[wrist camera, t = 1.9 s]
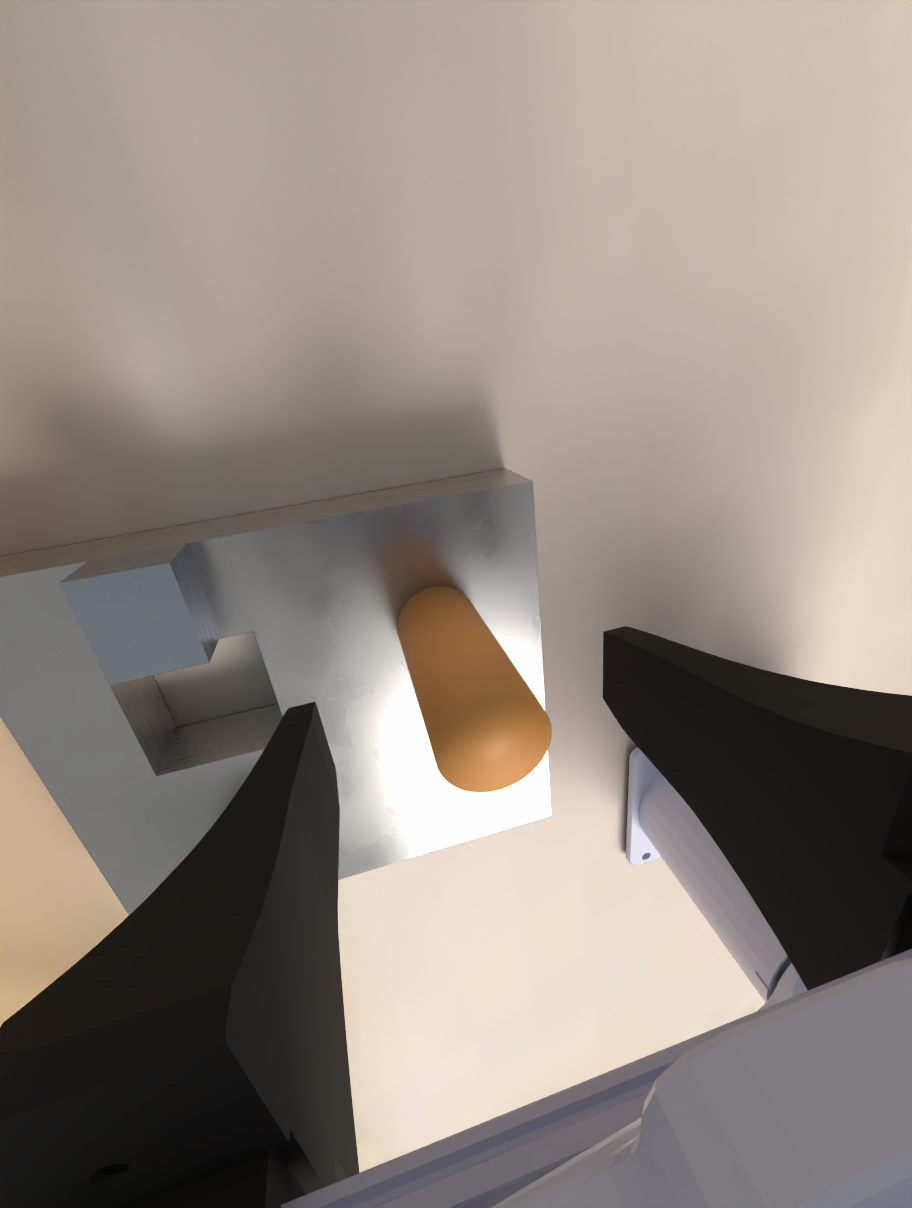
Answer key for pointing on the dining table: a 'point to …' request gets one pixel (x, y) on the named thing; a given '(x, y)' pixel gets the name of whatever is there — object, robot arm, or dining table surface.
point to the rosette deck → (291, 655)
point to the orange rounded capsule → (470, 694)
